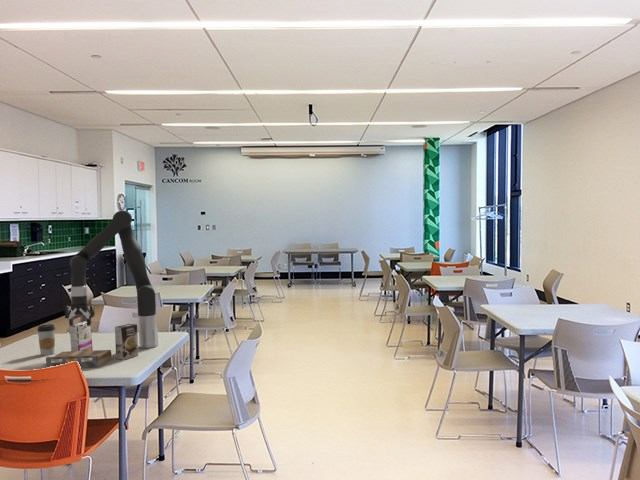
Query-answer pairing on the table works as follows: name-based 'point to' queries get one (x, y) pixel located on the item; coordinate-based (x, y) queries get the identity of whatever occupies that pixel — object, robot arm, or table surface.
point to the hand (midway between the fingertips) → (80, 326)
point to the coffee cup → (46, 339)
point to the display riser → (80, 358)
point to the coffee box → (126, 341)
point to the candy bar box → (81, 337)
